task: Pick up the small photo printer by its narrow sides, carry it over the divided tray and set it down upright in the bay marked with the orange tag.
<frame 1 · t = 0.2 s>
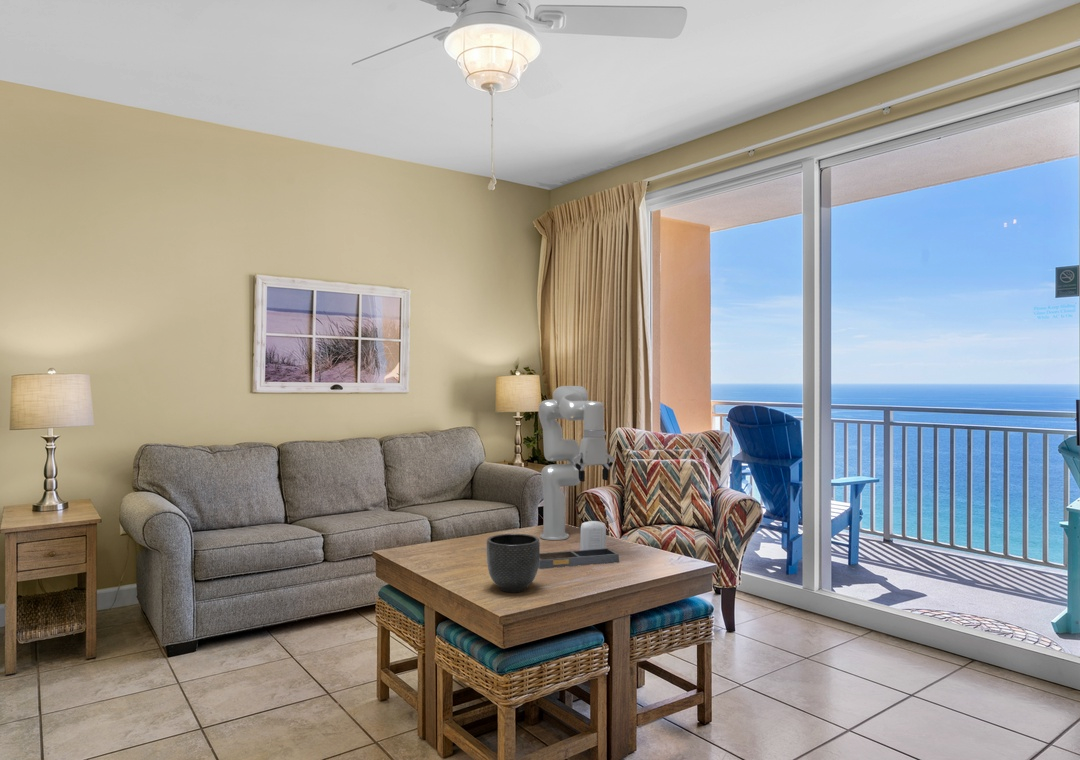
hand: (593, 480, 252), 30 cm above the table, tool pointing down, fingers open, 9 cm apart
divided tray: (575, 562, 252), on the table
planter: (513, 589, 219), on the table
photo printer: (593, 553, 267), on the table
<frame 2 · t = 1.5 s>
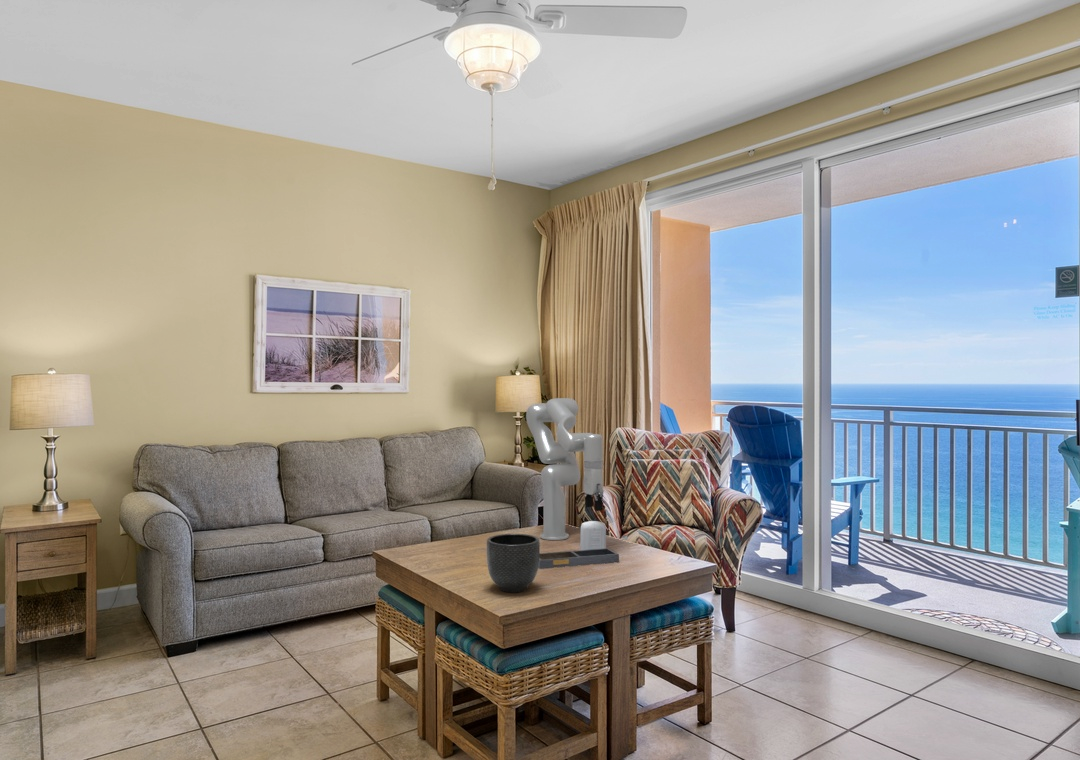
hand: (593, 508, 267), 17 cm above the table, tool pointing down, fingers open, 9 cm apart
nothing on the table moved.
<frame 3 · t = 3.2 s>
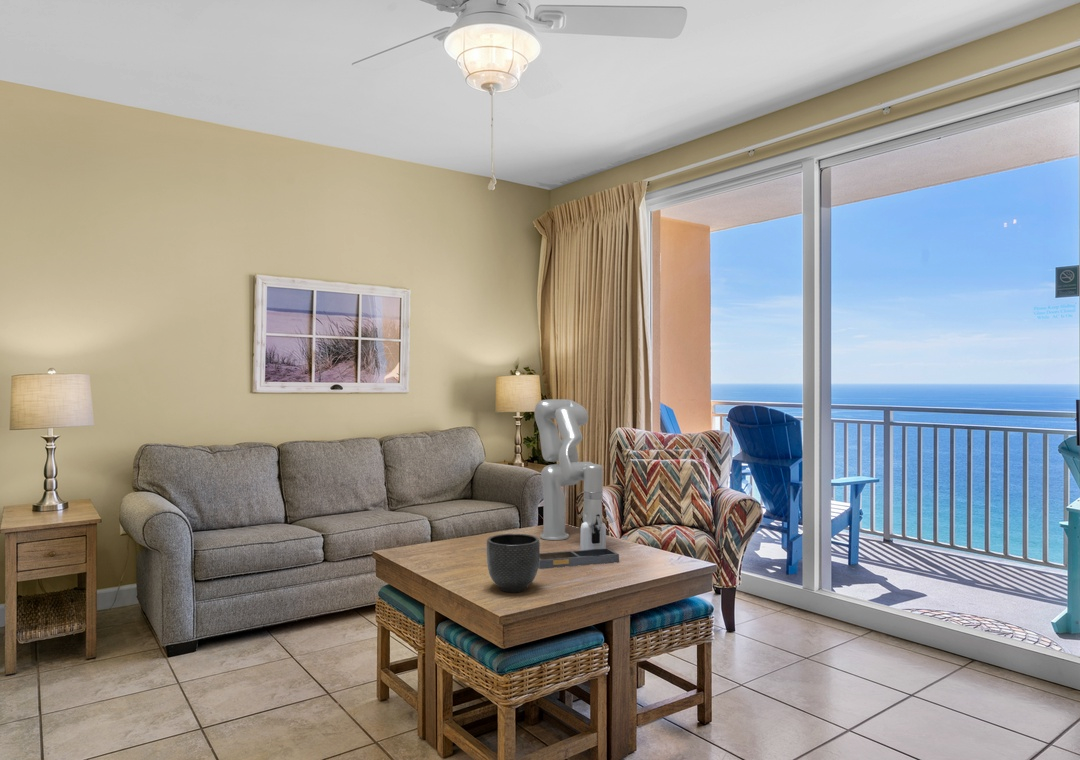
hand: (593, 541, 267), 4 cm above the table, tool pointing down, fingers closed on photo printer, 4 cm apart
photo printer: (593, 552, 267), on the table, touching gripper
everything else where it was.
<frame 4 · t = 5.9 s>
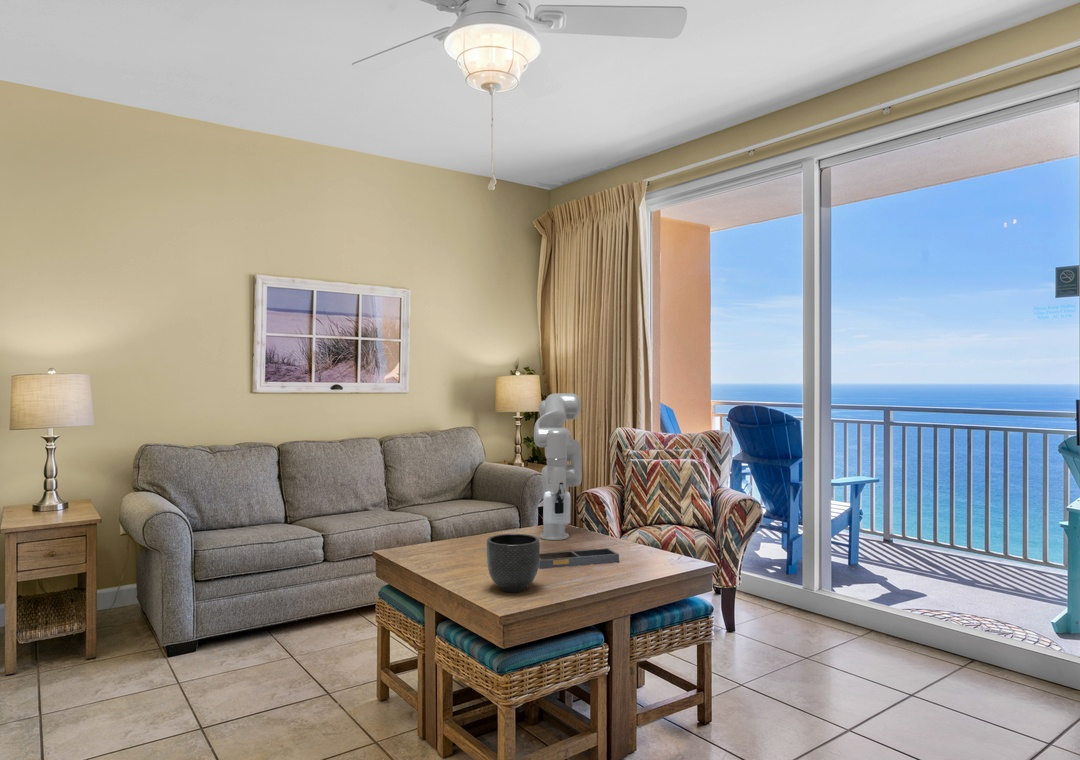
hand: (556, 511, 250), 19 cm above the table, tool pointing down, fingers closed on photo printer, 4 cm apart
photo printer: (556, 524, 250), point 15 cm above the table, touching gripper
everything else where it was.
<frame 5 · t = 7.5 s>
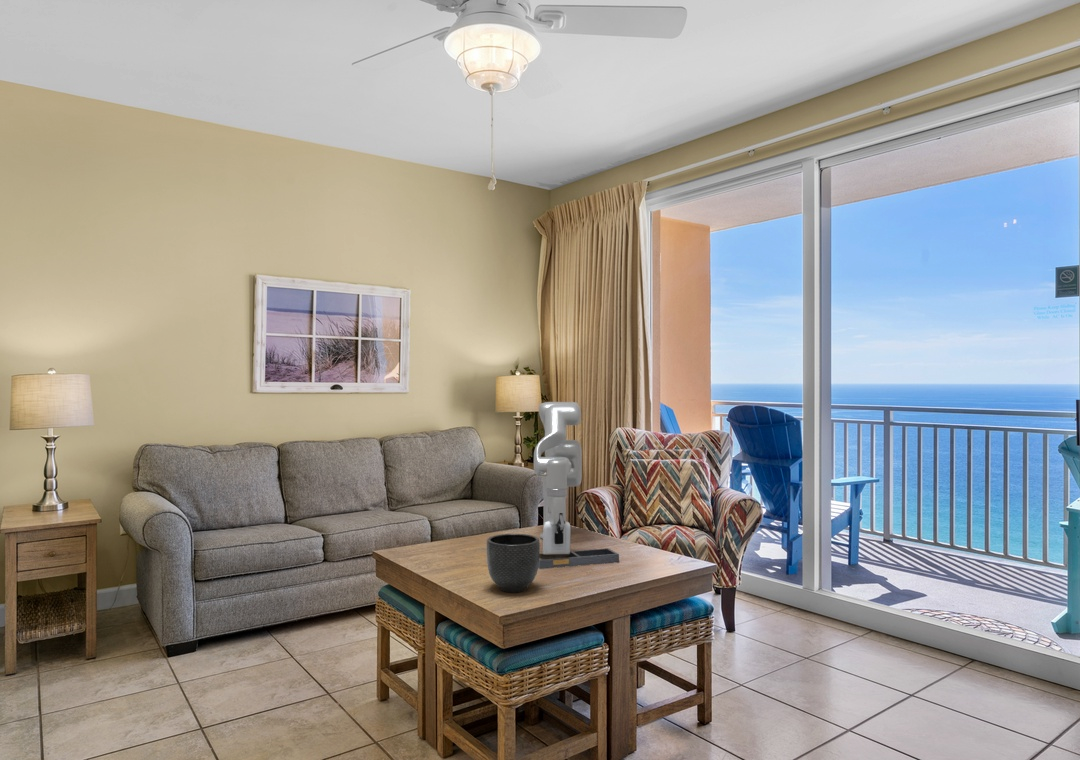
hand: (556, 541, 250), 8 cm above the table, tool pointing down, fingers closed on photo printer, 4 cm apart
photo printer: (556, 554, 250), point 4 cm above the table, touching gripper
everything else where it was.
when the fingers open (6 cm above the table, at t = 8.6 s): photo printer stays where it is, resting on divided tray.
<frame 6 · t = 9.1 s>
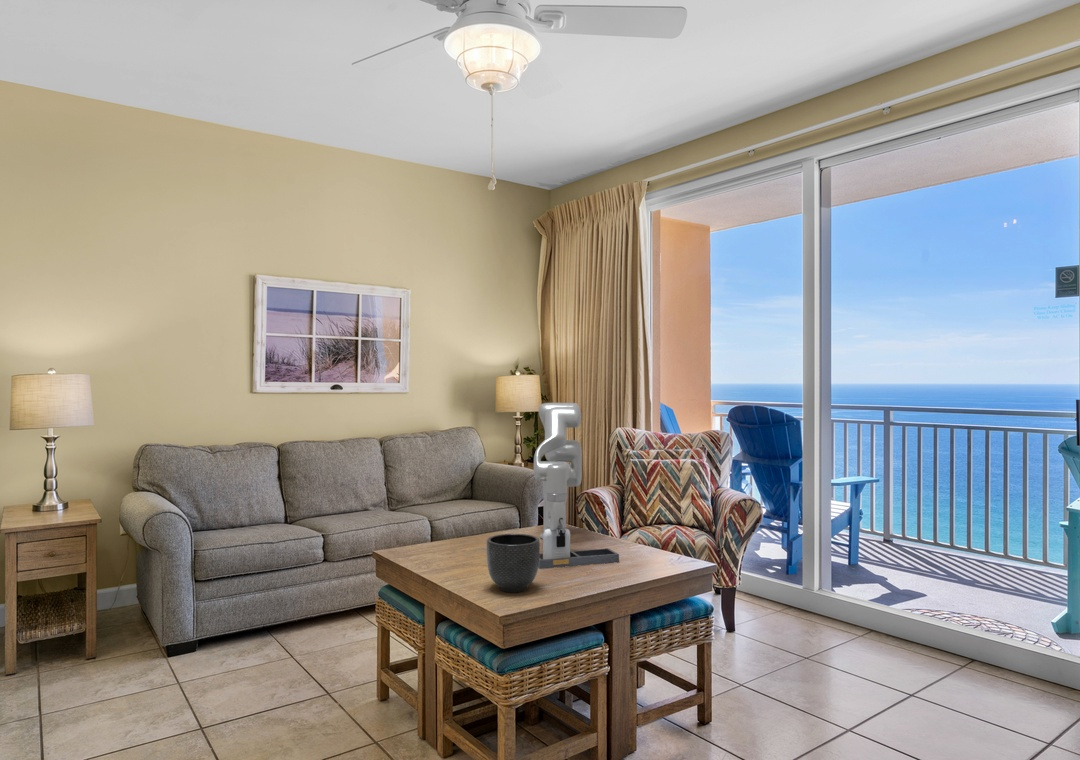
hand: (556, 544, 250), 7 cm above the table, tool pointing down, fingers open, 9 cm apart
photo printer: (556, 561, 250), point 1 cm above the table, touching divided tray
everything else where it was.
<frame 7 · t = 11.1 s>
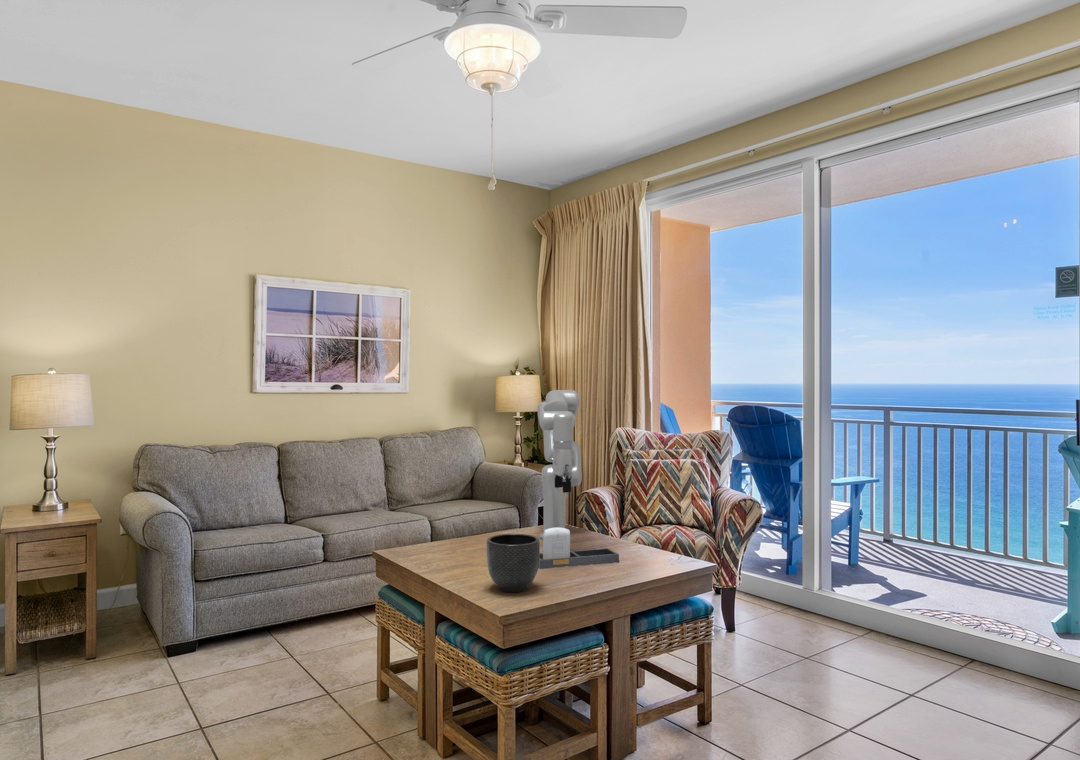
hand: (562, 489, 260), 26 cm above the table, tool pointing down, fingers open, 9 cm apart
nothing on the table moved.
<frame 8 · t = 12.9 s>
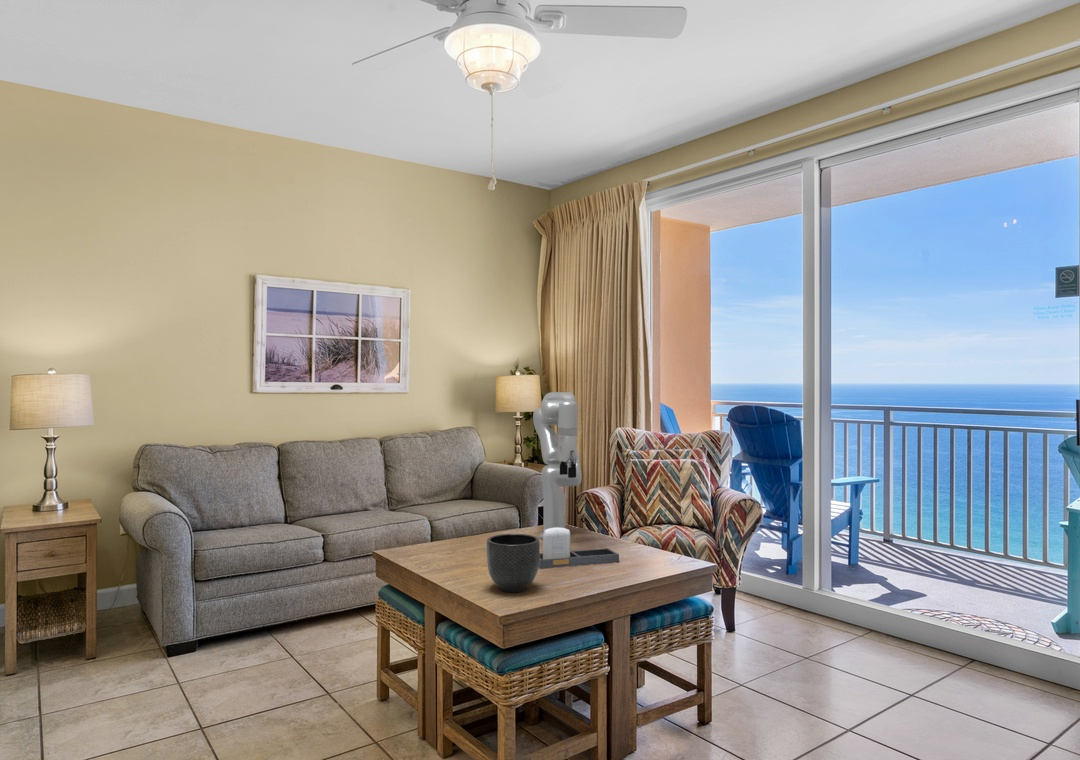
hand: (567, 476, 266), 30 cm above the table, tool pointing down, fingers open, 9 cm apart
nothing on the table moved.
at the end: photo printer inside the target area on the divided tray (0.1 cm from its centre), point 0.7 cm above the divided tray's base; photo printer tilted 0°; the gripper is holding nothing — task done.
